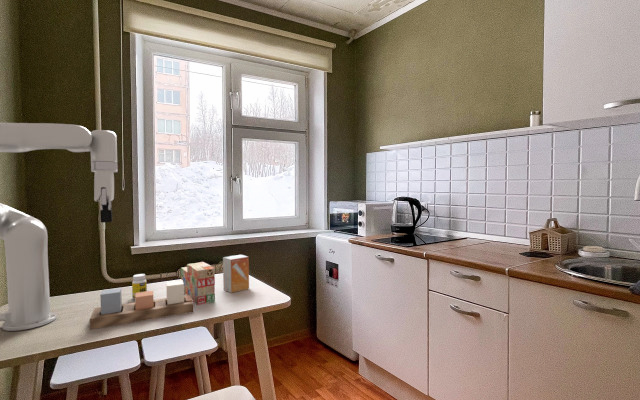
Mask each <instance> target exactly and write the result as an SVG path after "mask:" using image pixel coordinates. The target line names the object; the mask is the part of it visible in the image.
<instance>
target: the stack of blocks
mask: <svg viewBox="0 0 640 400" xmlns="http://www.w3.org/2000/svg"><path fill="white" fill-rule="evenodd" d="M215 270H216V268H215V267H214V266H212V265H210V264H209V263H207V262H204V261H200V262H195V263H187V264H186V266H184V267H180V277H181V279H180V281H181V280H183V283H184V295H190V296H191V298H192V301H193V303H195V304H196V306H199V305H204V304H208V303H214V301H215V302H216V294H215V293H216V292H215V291H216V289H215V288H216V287H215V285H216V284H215V283H216V282H215V281H216V277H215V276H216V275H215V274H216V273H215Z"/></svg>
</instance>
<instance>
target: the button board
mask: <svg viewBox="0 0 640 400" xmlns="http://www.w3.org/2000/svg"><path fill="white" fill-rule="evenodd" d="M153 302H154V307H152V308H146V309H139V310H136V307H135V302H129V303H122V308H121V312H116V313H109V314H102V315H101V306H100V307H95V308H93V311H92V313H91V315H90V318H89V330H95V329H100V328H107V327H108V328H109V327H113V326H118V325H119V326H120V325H125V324H126V325H127V324H131V323H137V322H144V321H149V320H155V319H161V318H167V317H169V318H170V317H173V316H178V315H179V316H181V315H186V314H192V313H194V301H193V300H192V298H191V296H190V295H186V294H184V302H182V303H175V304H169V305H168V304H167V297H163V298H158V299H157V298H156V299H153Z"/></svg>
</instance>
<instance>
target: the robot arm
mask: <svg viewBox="0 0 640 400" xmlns="http://www.w3.org/2000/svg"><path fill="white" fill-rule="evenodd" d="M117 138H118V137H117V134H116V133H115V132H114V131H112V130H104V129H95V130H92V131H90V130H89V129H87V128H86V127H84V126H82V125H79V124H78V125H77V124H71V123H70V124H68V123H67V124H66V123H53V122H51V123H49V122H48V123H45V122H39V123H36V122H35V123H33V122H31V123H28V122H19V123H18V122H1V121H0V153H27V152H30V151H37V150H53V149H54V150H67V151H69V152H72V153H85V152H87V153H88V152H90V167H91V168H90V171H91V173H94V179H93V182H94V183H93V184H94V185H93V191H94V193H93V194H94V196H93V200H94V201H95V202H100V211H99V212H100V213H99V214H100V216H99V217H100V222H101V223H111V222H113V209H112V202H113V200H114V199H115V175H114V173H118V171H119V169H118V143H117V141H118V139H117ZM48 238H49V236H48V229H47V227H46V226H45V224H44V223H43V222H42V221H41V220H40V219H38V218H35V217H34V216H32V215H29V214H26V213H25V212H23V211H20V210H17V209H15V208H13V207H11V206H9V205H6V204H4V203H1V202H0V239H1V240H3V242H4V244H3V245H4V251H5V269H6V285H7V286H6V287H7V306H8V307H7V308H8V310H5V311H4V312H3V313H2V312H0V322H1V321H3V323H2V324H1V329H2V330H3V331H9V332H14V331H24V330H29V329H35V328H38V327H42V326H44V325H45V326H46V325H47V324H50V323H52V322H53V321H55V320H56V319H57V318H58V316H57V315H58V314H57V313H56V312H54V311H51V299H50V278H49V277H50V274H49V256H48V251H49V250H48V240H49V239H48Z"/></svg>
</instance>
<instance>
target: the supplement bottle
mask: <svg viewBox="0 0 640 400" xmlns="http://www.w3.org/2000/svg"><path fill="white" fill-rule="evenodd" d="M132 279H133V280H132V281H131V283H132V284H131V288H132V289H131V291H132V293H131V294H132V299H133V300H135V295H136V293H139V292H147V291H148V290H147V289H148V287H147V286H148V284H147V283H148V281H147V279H146V274H145V273H138V274H137V273H136V274H134V275H133V276H132Z"/></svg>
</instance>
